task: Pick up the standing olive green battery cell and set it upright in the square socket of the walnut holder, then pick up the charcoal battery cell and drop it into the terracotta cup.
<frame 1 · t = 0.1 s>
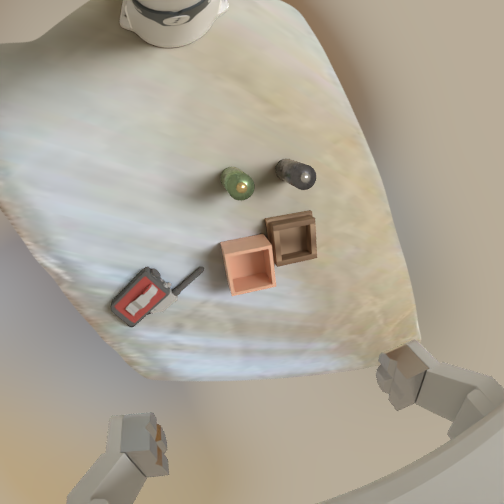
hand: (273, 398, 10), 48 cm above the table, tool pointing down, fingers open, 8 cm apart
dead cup: (244, 257, 61), on the table
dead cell: (286, 169, 56), on the table
cell holder: (290, 236, 61), on the table
walkie-talkie: (154, 286, 60), on the table
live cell: (231, 178, 54), on the table
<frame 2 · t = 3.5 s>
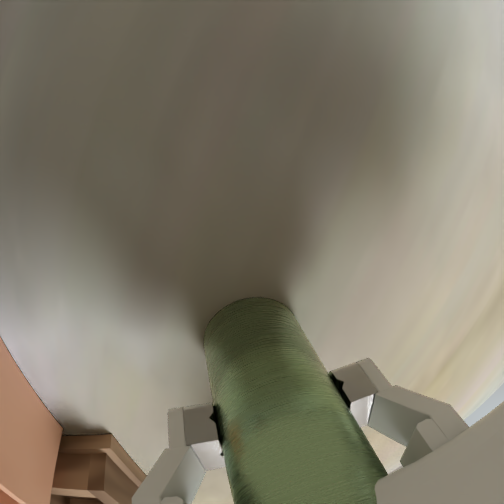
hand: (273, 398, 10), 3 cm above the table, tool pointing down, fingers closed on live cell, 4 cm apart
cell holder: (83, 471, 15), on the table
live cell: (251, 338, 13), on the table, touching gripper
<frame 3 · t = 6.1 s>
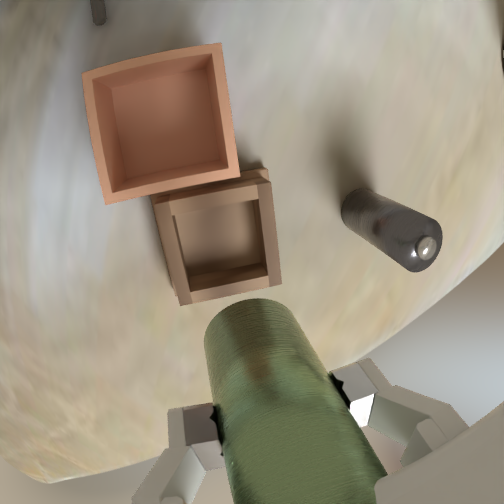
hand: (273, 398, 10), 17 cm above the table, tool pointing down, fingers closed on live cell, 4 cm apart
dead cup: (165, 122, 21), on the table
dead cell: (360, 210, 28), on the table
cell holder: (217, 231, 26), on the table
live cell: (251, 339, 13), point 14 cm above the table, touching gripper
when the fingers open (5 cm above the table, at t = 8.7 s): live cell stays where it is, resting on cell holder.
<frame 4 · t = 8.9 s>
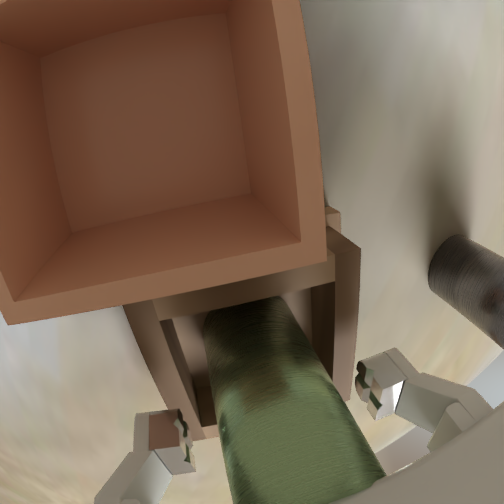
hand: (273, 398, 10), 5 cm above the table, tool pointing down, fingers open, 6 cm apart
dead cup: (141, 118, 10), on the table
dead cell: (450, 265, 17), on the table
cell holder: (242, 317, 14), on the table
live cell: (248, 328, 14), point 1 cm above the table, touching cell holder
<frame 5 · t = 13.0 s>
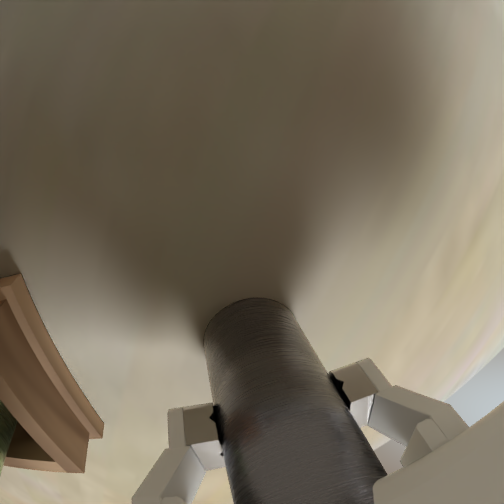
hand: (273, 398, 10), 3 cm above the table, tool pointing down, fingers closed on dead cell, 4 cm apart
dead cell: (251, 339, 13), on the table, touching gripper
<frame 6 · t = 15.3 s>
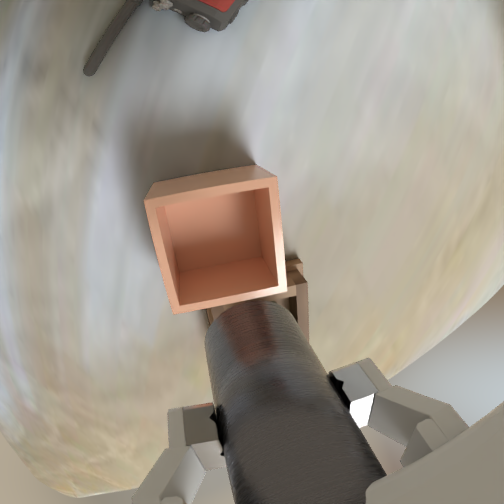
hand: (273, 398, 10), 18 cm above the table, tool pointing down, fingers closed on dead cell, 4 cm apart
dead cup: (213, 221, 26), on the table
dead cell: (252, 341, 13), point 14 cm above the table, touching gripper
cell holder: (256, 310, 30), on the table
when the fingers open (7 cm above the table, at t = 17.6 s): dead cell drops 3 cm, resting on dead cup.
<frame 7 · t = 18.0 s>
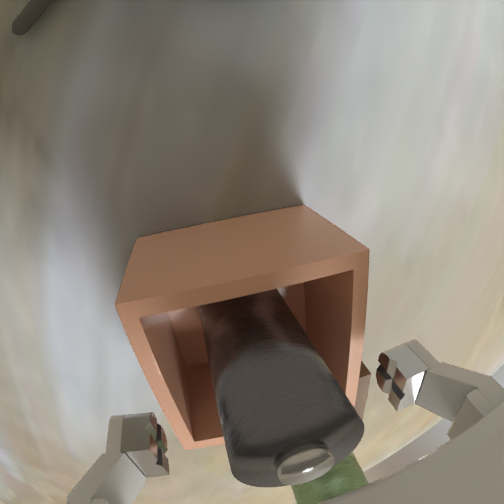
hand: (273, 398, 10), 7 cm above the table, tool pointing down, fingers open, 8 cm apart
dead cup: (235, 294, 16), on the table
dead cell: (239, 304, 16), point 1 cm above the table, touching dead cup
cell holder: (291, 396, 21), on the table
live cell: (296, 406, 20), point 1 cm above the table, touching cell holder
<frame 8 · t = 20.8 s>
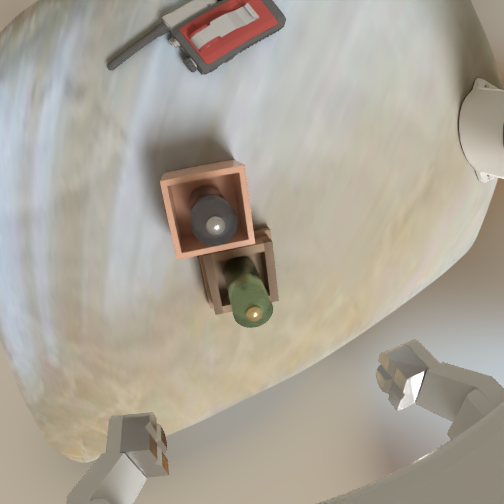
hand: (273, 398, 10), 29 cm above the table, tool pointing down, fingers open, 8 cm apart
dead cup: (204, 200, 36), on the table
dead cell: (206, 202, 35), point 1 cm above the table, touching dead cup
cell holder: (237, 267, 40), on the table
walkie-talkie: (199, 39, 29), on the table
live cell: (239, 270, 39), point 1 cm above the table, touching cell holder
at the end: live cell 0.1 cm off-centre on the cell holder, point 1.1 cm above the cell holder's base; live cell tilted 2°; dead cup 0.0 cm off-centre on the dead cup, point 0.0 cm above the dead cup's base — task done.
